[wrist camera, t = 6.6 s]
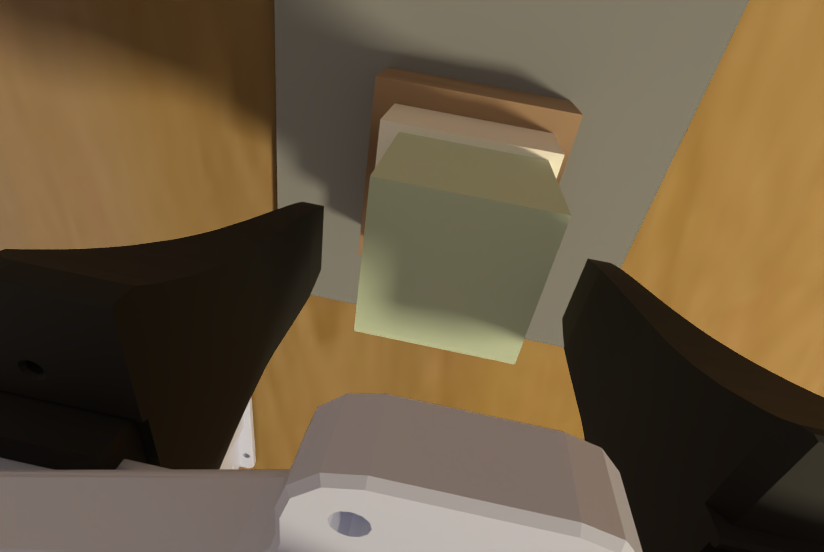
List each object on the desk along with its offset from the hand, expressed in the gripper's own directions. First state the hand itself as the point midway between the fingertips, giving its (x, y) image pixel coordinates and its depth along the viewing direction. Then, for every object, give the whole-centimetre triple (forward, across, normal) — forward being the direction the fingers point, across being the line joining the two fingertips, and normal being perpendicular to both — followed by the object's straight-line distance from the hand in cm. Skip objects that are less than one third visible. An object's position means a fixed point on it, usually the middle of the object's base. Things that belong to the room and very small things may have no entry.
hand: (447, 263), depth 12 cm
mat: (+8, 0, 0) cm, 8 cm away
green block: (+3, 0, 0) cm, 3 cm away
